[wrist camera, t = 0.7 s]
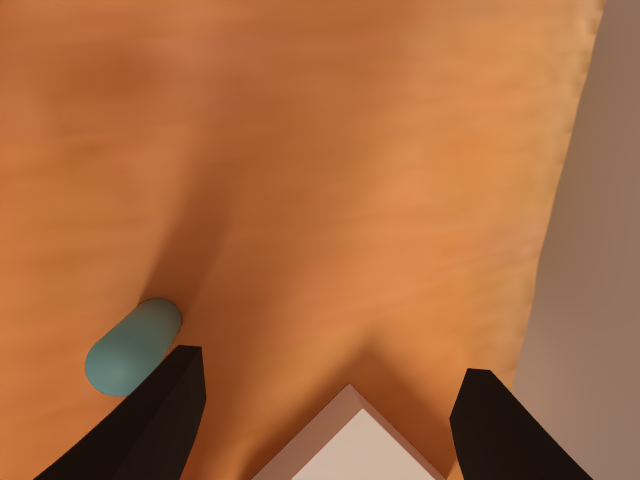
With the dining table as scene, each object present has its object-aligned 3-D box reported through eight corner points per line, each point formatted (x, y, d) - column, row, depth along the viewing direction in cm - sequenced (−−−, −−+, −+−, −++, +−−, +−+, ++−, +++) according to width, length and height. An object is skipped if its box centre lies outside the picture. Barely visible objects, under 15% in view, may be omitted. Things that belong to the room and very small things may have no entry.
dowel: (157, 352, 29) (120, 409, 21) (121, 321, 28) (69, 367, 20) (191, 320, 29) (168, 363, 21) (157, 288, 28) (120, 321, 20)
